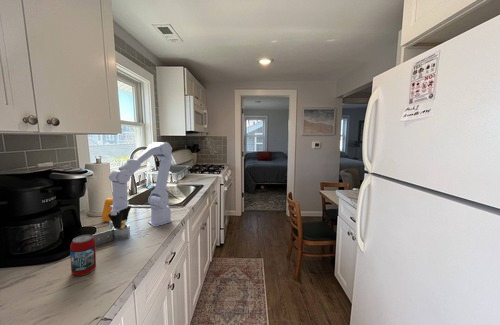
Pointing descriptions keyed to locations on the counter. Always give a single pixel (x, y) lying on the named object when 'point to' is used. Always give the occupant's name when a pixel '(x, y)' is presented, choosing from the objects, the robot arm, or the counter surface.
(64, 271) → the counter surface
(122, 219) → the hinge pin
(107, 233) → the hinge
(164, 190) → the robot arm
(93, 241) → the beverage can
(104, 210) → the bracket
